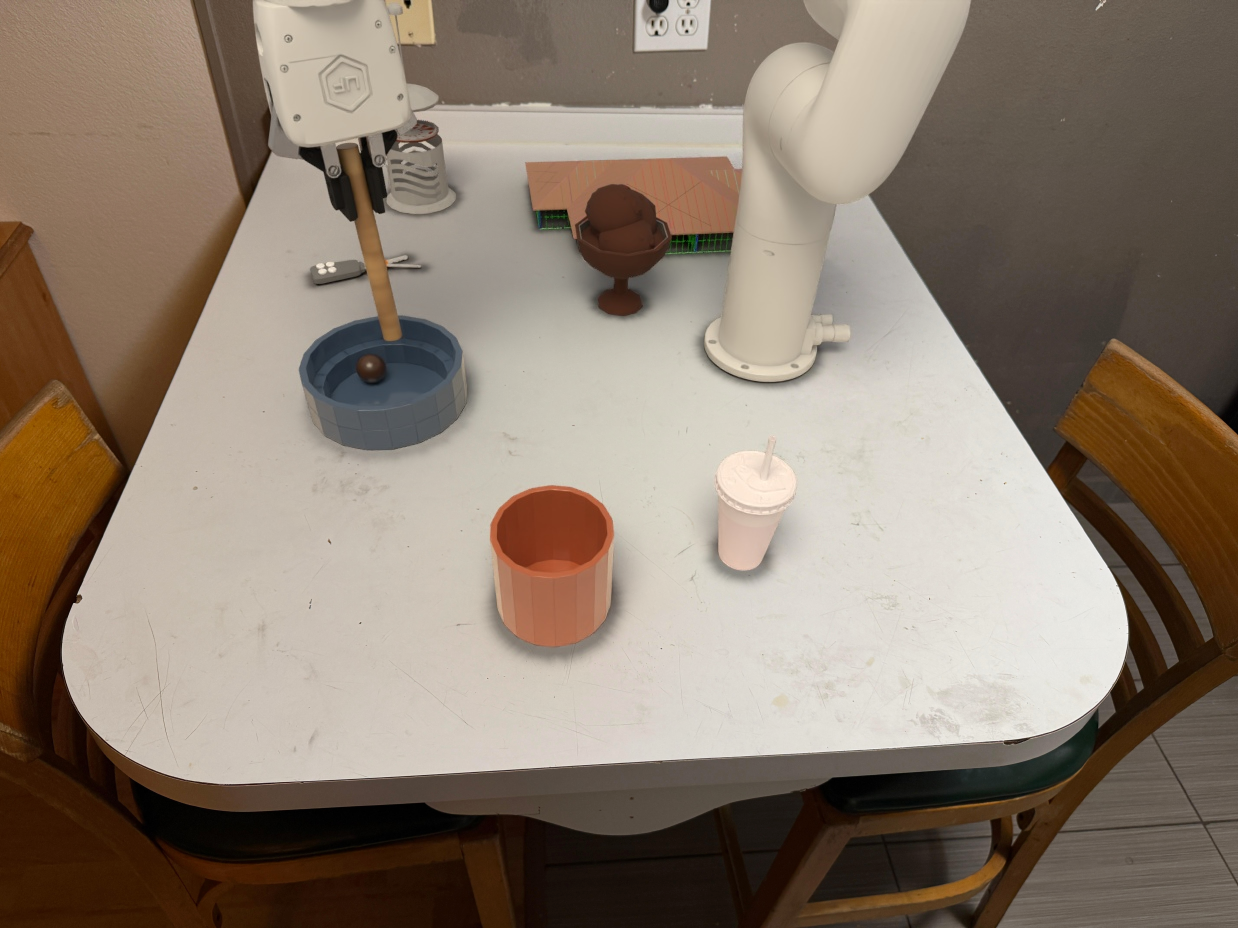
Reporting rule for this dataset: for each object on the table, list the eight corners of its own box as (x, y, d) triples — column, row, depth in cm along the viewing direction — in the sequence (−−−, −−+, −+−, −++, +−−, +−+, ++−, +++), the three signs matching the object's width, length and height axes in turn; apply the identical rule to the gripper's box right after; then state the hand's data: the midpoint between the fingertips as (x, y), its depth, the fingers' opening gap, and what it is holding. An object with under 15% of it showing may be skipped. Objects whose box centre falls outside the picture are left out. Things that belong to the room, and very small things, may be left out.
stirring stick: (402, 331, 79) (357, 141, 68) (402, 340, 78) (357, 148, 67) (383, 333, 79) (335, 144, 68) (383, 342, 78) (335, 150, 66)
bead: (370, 391, 83) (378, 387, 86) (388, 368, 82) (395, 365, 85) (346, 372, 82) (354, 368, 85) (364, 349, 82) (371, 346, 85)
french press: (450, 215, 113) (427, 16, 95) (365, 212, 112) (327, 12, 95) (461, 184, 120) (441, -7, 102) (381, 181, 119) (348, -11, 102)
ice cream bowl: (658, 334, 94) (668, 212, 83) (564, 320, 95) (562, 199, 85) (672, 286, 101) (683, 169, 91) (585, 274, 103) (585, 157, 92)
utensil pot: (605, 557, 69) (608, 482, 63) (614, 648, 63) (618, 575, 57) (499, 561, 69) (492, 486, 62) (496, 654, 62) (488, 581, 56)
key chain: (315, 288, 98) (312, 278, 97) (310, 273, 100) (307, 263, 99) (422, 269, 102) (420, 258, 101) (414, 255, 105) (413, 244, 104)
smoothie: (757, 598, 67) (788, 477, 57) (689, 564, 69) (707, 443, 60) (788, 548, 71) (822, 427, 61) (723, 518, 73) (745, 397, 64)
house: (786, 251, 109) (797, 193, 103) (538, 263, 104) (536, 203, 99) (741, 177, 125) (749, 123, 119) (526, 184, 120) (523, 128, 115)
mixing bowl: (470, 356, 89) (466, 314, 86) (463, 452, 78) (457, 408, 74) (326, 359, 88) (315, 316, 84) (298, 457, 77) (283, 412, 73)
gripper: (210, -2, 53) (285, 254, 65) (435, -32, 59) (463, 206, 72) (181, -28, 57) (256, 217, 70) (393, -53, 64) (427, 174, 76)
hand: (361, 209), depth 71 cm, fingers closed on stirring stick, 1 cm apart
